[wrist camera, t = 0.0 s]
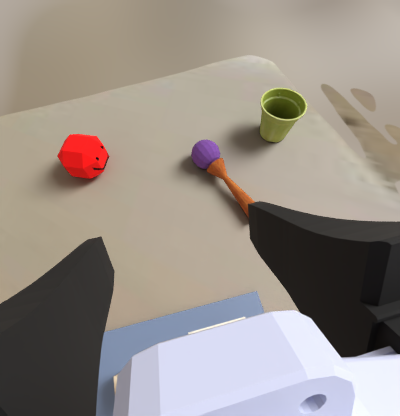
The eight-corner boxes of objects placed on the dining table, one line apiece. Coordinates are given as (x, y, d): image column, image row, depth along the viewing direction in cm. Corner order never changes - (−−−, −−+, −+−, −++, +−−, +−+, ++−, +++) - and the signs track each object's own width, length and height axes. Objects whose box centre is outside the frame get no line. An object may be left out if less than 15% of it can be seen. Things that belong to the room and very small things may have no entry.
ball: (103, 185, 50) (89, 163, 43) (67, 180, 50) (46, 158, 44) (115, 154, 54) (103, 130, 47) (80, 150, 54) (63, 125, 47)
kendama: (247, 222, 43) (184, 145, 48) (244, 228, 49) (188, 158, 54) (273, 203, 43) (207, 128, 49) (267, 211, 49) (209, 144, 54)
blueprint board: (293, 404, 35) (295, 406, 34) (96, 470, 31) (94, 474, 31) (255, 291, 41) (257, 291, 41) (90, 336, 38) (88, 336, 37)
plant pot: (271, 155, 54) (284, 127, 46) (244, 129, 57) (251, 99, 49) (300, 136, 57) (316, 106, 49) (272, 113, 60) (283, 81, 52)
